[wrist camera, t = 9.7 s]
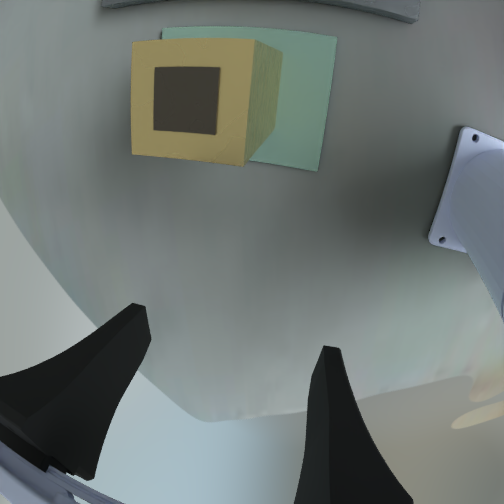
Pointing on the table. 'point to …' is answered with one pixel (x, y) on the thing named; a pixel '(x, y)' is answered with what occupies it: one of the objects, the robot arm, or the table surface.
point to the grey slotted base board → (382, 3)
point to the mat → (288, 89)
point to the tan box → (203, 98)
